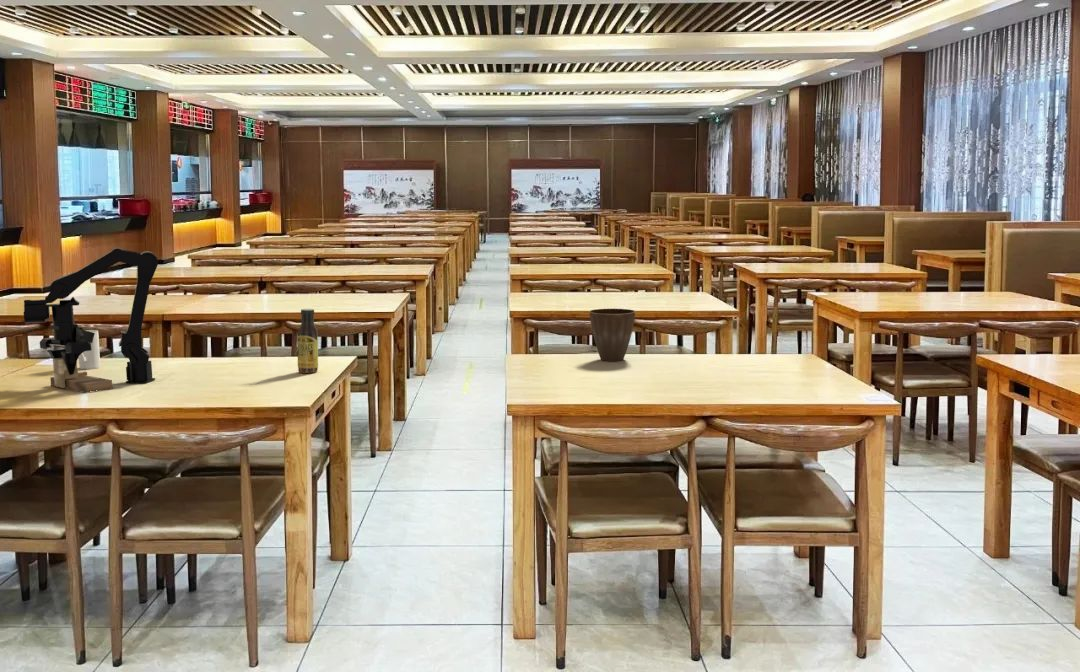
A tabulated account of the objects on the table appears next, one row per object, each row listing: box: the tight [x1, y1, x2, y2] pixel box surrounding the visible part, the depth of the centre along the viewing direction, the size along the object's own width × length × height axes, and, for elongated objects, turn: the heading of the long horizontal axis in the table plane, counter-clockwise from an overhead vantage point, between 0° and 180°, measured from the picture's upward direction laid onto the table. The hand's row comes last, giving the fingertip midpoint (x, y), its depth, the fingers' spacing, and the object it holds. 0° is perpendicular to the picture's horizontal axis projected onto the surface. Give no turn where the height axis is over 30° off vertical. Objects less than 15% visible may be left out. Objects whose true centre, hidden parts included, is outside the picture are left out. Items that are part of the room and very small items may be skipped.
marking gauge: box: [52, 358, 88, 388], centre depth 321 cm, size 4×9×8 cm, turn 142°
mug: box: [78, 329, 101, 370], centre depth 353 cm, size 10×7×12 cm, turn 0°
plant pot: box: [588, 308, 636, 362], centre depth 354 cm, size 15×15×16 cm
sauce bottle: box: [297, 308, 319, 374], centre depth 339 cm, size 6×6×20 cm
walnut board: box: [49, 375, 113, 393], centre depth 320 cm, size 20×8×3 cm, turn 52°
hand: (67, 373), depth 320 cm, fingers closed on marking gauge, 4 cm apart
